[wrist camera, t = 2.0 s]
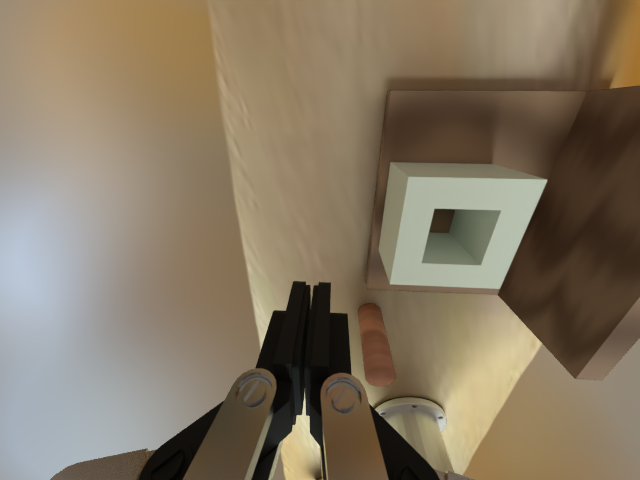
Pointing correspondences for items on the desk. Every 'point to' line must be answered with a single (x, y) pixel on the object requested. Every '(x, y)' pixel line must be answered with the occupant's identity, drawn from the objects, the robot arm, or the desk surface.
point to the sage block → (455, 223)
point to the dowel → (375, 347)
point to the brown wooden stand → (541, 206)
